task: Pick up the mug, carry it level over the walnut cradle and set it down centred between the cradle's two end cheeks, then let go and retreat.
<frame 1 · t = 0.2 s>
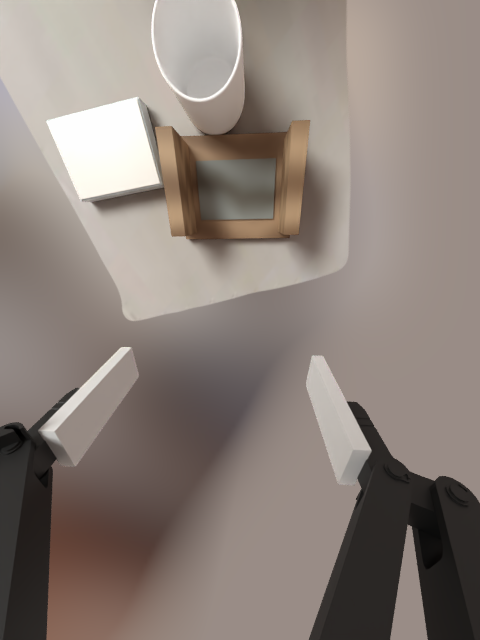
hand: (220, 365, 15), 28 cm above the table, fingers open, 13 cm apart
mug: (212, 82, 28), on the table
white rectangular block: (116, 158, 33), on the table
cradle: (236, 192, 34), on the table
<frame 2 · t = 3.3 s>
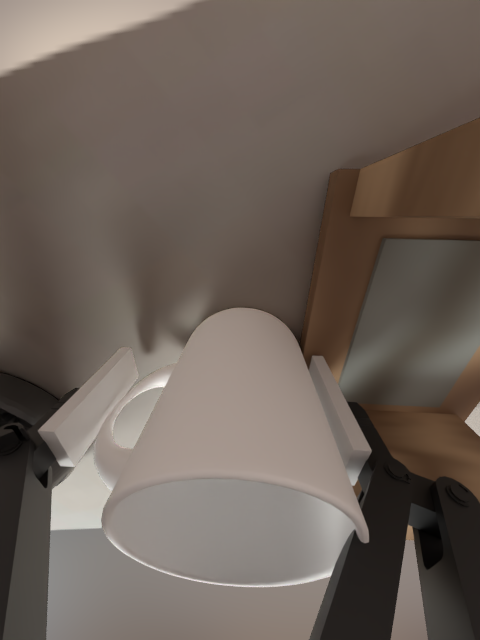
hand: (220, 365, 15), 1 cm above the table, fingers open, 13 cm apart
mug: (222, 352, 17), on the table
cradle: (402, 328, 15), on the table
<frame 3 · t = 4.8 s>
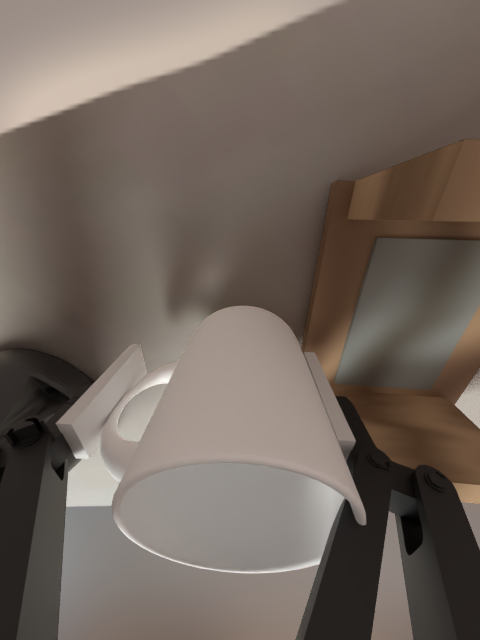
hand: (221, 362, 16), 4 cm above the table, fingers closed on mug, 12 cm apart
mug: (223, 350, 17), point 2 cm above the table, touching gripper
cradle: (396, 317, 17), on the table
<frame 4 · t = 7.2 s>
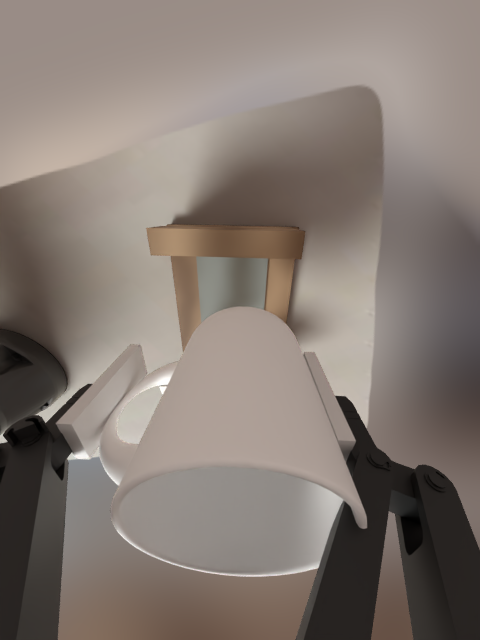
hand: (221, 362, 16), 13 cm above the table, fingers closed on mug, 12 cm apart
mug: (222, 351, 17), point 11 cm above the table, touching gripper
cradle: (232, 301, 27), on the table
when the fingers open (4 cm above the table, at t = 9.7 s): mug stays where it is, resting on cradle.
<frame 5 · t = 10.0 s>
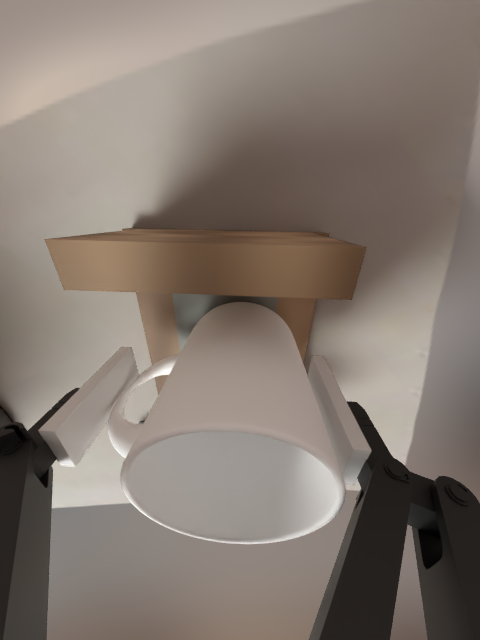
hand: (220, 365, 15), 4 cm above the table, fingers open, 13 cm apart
mug: (222, 344, 18), point 1 cm above the table, touching cradle
cradle: (227, 336, 19), on the table
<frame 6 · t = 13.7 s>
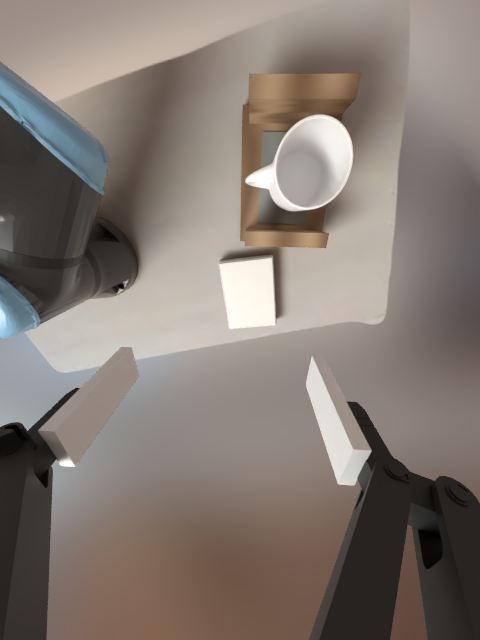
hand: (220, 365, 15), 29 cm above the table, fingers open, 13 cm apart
mug: (283, 182, 33), point 1 cm above the table, touching cradle
white rectangular block: (249, 291, 43), on the table
cradle: (284, 182, 34), on the table
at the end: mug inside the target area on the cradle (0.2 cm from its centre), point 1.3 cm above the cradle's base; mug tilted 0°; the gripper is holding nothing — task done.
